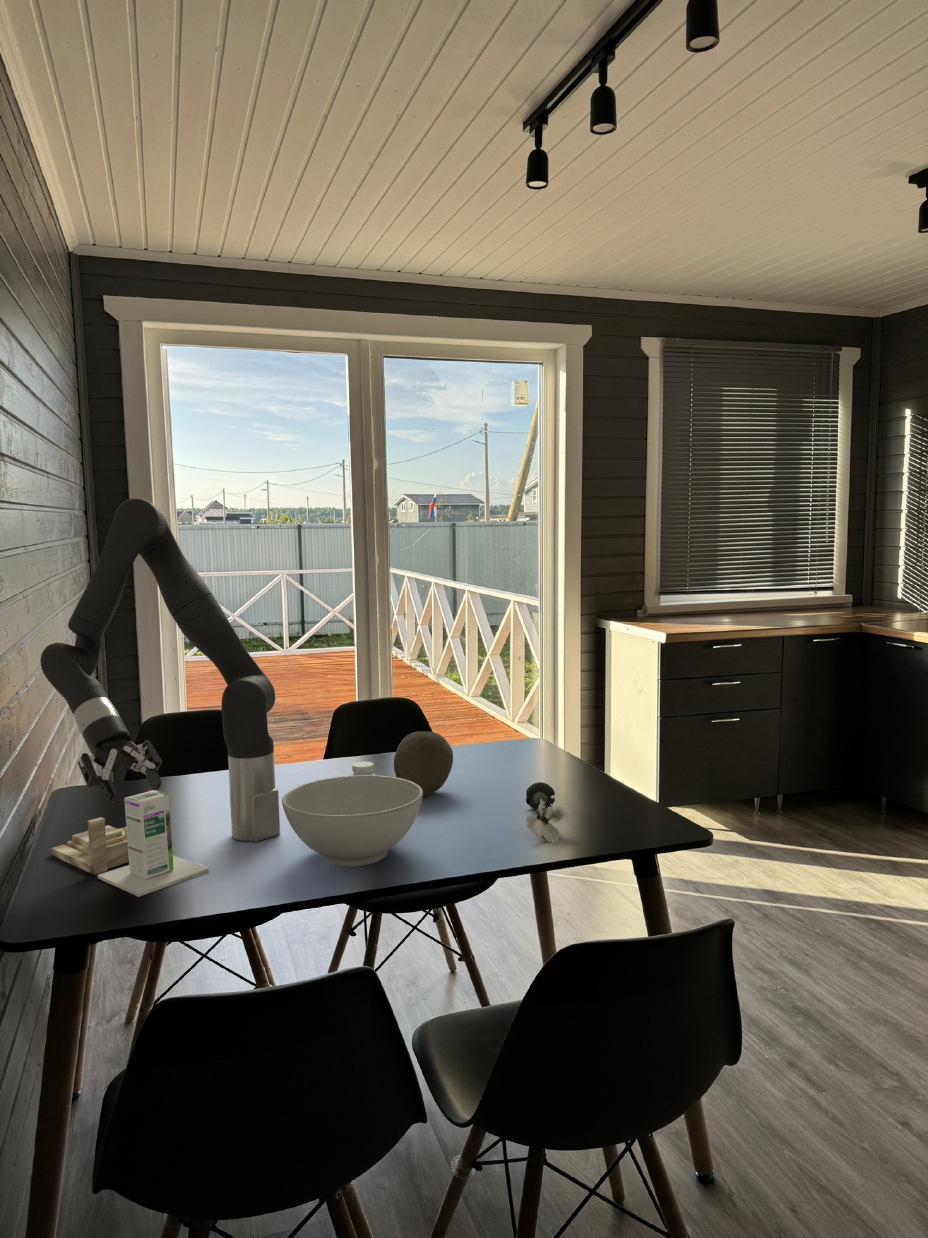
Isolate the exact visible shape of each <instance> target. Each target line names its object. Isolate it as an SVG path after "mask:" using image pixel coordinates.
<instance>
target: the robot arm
mask: <svg viewBox="0 0 928 1238" xmlns="http://www.w3.org/2000/svg"><path fill="white" fill-rule="evenodd" d="M176 540H177V539H176V538H175V536H174V534H173V532H172V530H171V528H170V525H169V523H168V521H167V519H166V517H165V515H164V513H163V512H162V511H161V510H160V508H158V507H157V506H156V505H155V504H153V503H152V502H151V501H149V500H147V499H143V498H138V497H137V498H136V497H135V498H129V499H126V500H125V501H123V502H122V503H120V504H119V506H118V507H117V509H116V510H115V513H114V515H113V518H112V522H111V524H110V528H109V530H108V535H107V537H106V541H105V544H104V546H103V549H102V551H101V554H100V557H99V559H98V562H97V564H96V566H95V569H94V571H93V573H92V574H91V577H90V579H89V581H88V583H87V585H86V586H85V589H84V591H83V593H82V594H81V597H80V599H79V600H78V602H77V604H76V606H75V608H74V610H73V611H72V614H71V615H70V618H69V620H68V623H67V627H68V629H69V631H71V632H72V633H73V634H75V635H76V638H75V643H74V645H72V644H68V643H64V642H52V643H51V644H48V645H47V646H46V647H44V649H43V650H42V653H41V654H40V662H39V663H40V668H41V670H42V673H43V675H44V677H45V678H46V679H47V681H48V682H49V683H50V684H51V686H52V687H53V688H54V689H55V690H56V691H57V692H58V693H59V695H61V696H62V697H63V699H64V700H65V701H66V703H67V705H68V707H69V709H70V711H71V713H72V715H73V717H74V721H75V723H76V726H77V729H78V730H79V733H80V734H81V736H82V738H83V740H84V743H85V744H86V745H87V748H88V750H89V752H90V754H88V753H87V752H83V753H82V754H81V755H80V758H79V760H78V762H77V764H78V768H79V769H80V772H81V775H82V777H83V778H84V779H83V780H84V783H85V784H86V786H87V787H89V788H92V787H93V786H95V787H98V788H100V790H101V793H102V794H103V795H104V797H105V799H106V801H109V802H110V803H111V804H112V803H116V802H117V800H118V798H119V794H118V792H117V790H116V788H115V785H114V783H113V782H112V780H111V779H109V778H110V774H111V773H114V774H116V773H119V772H121V771H129V770H132V771H135V772H136V773H137V772H140V773H141V774H143V775H146V776H145V778H146V780H147V782H148V784H149V786H150V788H151V790H155V791H160V789H161V785H162V784H163V783H162V782H163V781H162V779H161V777H160V775H159V773H158V770H159V769H160V767H161V765H162V764H163V760H162V758H161V757H160V755H159V754H158V752H157V750H156V749H155V747H154V746H153V744H152V742H151V741H150V740H148V739H146V740H144V742H143V743H140V744H135V743H134V742H133V741H132V738H131V734H130V732H129V731H128V729H127V727H126V725H125V723H124V721H123V719H122V718H121V716H120V714H119V712H118V710H117V709H116V707H115V706H114V704H113V703H112V701H111V700H110V698H109V697H108V694H107V692H106V691H105V689H104V687H103V686H102V684H101V682H100V681H99V680H97V679H96V678H95V677H92V675H93V674H94V672H95V671H96V668H97V666H98V663H99V658H100V653H101V649H102V646H103V639H104V635H105V632H106V631H107V628H108V627H109V625H110V623H111V622H112V619H113V617H114V615H115V613H116V611H117V609H118V606H119V604H120V601H121V600H122V599H121V598H122V595H123V592H124V589H125V584H126V581H127V579H128V576H129V573H130V571H131V568H132V566H133V564H134V562H135V560H136V559H137V557H138V556H139V555H140V556H141V559H143V561H144V562H145V564H146V565H147V566H148V568H149V569H150V571H151V573H152V575H153V576H154V579H155V581H156V583H157V587H158V589H159V591H160V594H161V597H162V599H163V601H164V603H165V606H166V608H167V610H168V612H169V614H170V615H171V617H172V618H173V620H174V621H175V623H176V625H177V626H178V628H179V630H180V631H181V633H182V634H183V635H184V636H185V638H186V639H187V641H189V642H190V643H191V644H192V645H193V646H194V647H195V648H196V649H197V650H198V651H199V652H200V653H202V655H204V656H205V657H206V658H207V659H209V660H210V661H211V662H212V664H213V665H214V666H215V667H216V668H217V670H218V671H219V673H220V675H221V676H222V678H223V679H224V681H225V684H226V687H225V688H224V690H223V693H222V696H221V719H222V729H223V730H222V731H223V739H224V742H225V746H227V747H226V748H227V757H228V758H227V759H228V782H229V785H228V786H229V799H230V800H229V802H230V819H231V820H230V821H231V837H232V838H233V839H235V840H237V841H242V842H243V841H245V842H247V841H248V842H250V841H251V842H260V841H264V840H265V839H268V838H271V837H274V836H275V837H276V836H277V835H280V834H281V825H280V824H281V822H280V821H281V820H280V804H279V803H280V801H279V799H280V798H279V796H280V795H279V790H278V789H277V788H276V774H275V773H276V772H275V770H276V769H275V749H274V747H275V746H274V745H275V744H274V739H273V738H272V737H271V736H270V734H269V729H268V727H269V725H268V713H269V712H270V711H271V710H272V708H273V707H274V705H275V702H276V691H275V687H274V686H273V684H272V682H271V680H270V679H269V678H268V676H267V675H266V674H265V673H264V671H263V670H262V669H261V667H260V666H259V665H258V663H256V661H255V660H254V659H253V658H252V656H251V654H250V653H249V652H248V651H247V649H246V648H245V646H244V645H243V643H242V641H241V639H240V638H239V636H238V634H237V632H236V630H235V629H234V627H233V625H232V624H231V622H230V620H229V619H228V617H227V616H226V614H225V612H224V611H223V609H222V607H221V605H220V603H219V602H218V601H217V599H216V597H215V596H214V594H213V593H212V591H211V590H210V587H208V585H207V584H206V583H205V581H204V580H203V578H202V577H201V575H199V573H198V571H197V570H196V569H195V568H194V567H193V565H192V564H191V563H190V562H189V561H188V559H187V558H186V555H184V553H183V551H182V549H181V548H180V545H179V544H178V542H177V541H176ZM136 761H137V763H135V762H136ZM94 763H95V764H96V765H98V766H100V767H101V771H100V774H99V775H98V774H97V772H96V769H95V767H94Z"/></svg>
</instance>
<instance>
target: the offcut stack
mask: <svg viewBox="0 0 928 1238" xmlns="http://www.w3.org/2000/svg"><path fill="white" fill-rule="evenodd" d="M105 833H106V846H109V845H112V844H115V843H119V842H122V841H125V840H124V836H122V830H119V828H116V827H113V826H110V825H109V824H108V825H107V824H106V825H105ZM86 838H89V835H88V830H86V831H83V832H79V833H76V834H73V835H71V840H69V841H67V844H66V845H67V846H69V847H71V848H73V849H76V850H78V851H80V852H83V839H86Z"/></svg>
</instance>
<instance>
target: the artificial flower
mask: <svg viewBox="0 0 928 1238" xmlns="http://www.w3.org/2000/svg"><path fill="white" fill-rule="evenodd" d="M525 792H526V793H525V795H526V796H525V797H526V798H525V802H526V804H527V805H529V807H530V808H531V809H532V810H534V809H535V810H536V809H537V815H536V817H535V816H533V815H527V817H526V820H525V824H526V827H527V829H528V830H529V832H531V833H533V835H534V836H535V837H537V838H540V837H544V838H545V840H546V841H547V842H549V843H553V842H552V841H556V839H557V838H558V837H561V834H560V832H559V829H557V828H556V827H555V826H554V825H553V824H552V823H550V820H551V821H553V822H554V823H558V822H560V821H561V820H562V819H563V818H564V817H565V816H566V815H567V814H568V811H567V810H565V808H563V807H561V806H559V807H555V808H554V806H553V805H554V803H555V802H556V798H555V795H556V792H555V790H554V788H553V787H552V786H551V785H549V784H547V783H545V782H540V781H539V782H535V783H533V784H531V785H530V786H529V787H527V789H526V791H525ZM553 808H554V809H553ZM543 809H544V810H543ZM535 810H534V811H535Z"/></svg>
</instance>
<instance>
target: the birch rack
mask: <svg viewBox="0 0 928 1238" xmlns="http://www.w3.org/2000/svg"><path fill="white" fill-rule="evenodd" d="M105 826H106V819H105V817H101V816H100V817H96V818H93V819H89V820H87V831H88V835H89V838H86V839H83V852H80V851H78V850H76V849H73V848H71V847H69V846H68V845H67V844H61V845H57V846H54V847H51V848H50V851H51V855H52V854H53V855H54V856H56V857H57V859H58V858H59V859H58V860H61V861H63V862H65V863H67V864H70V865H72V866H74V867H77V868H79V869H81V870H82V871H85V872H88V873H90V874H92V875H94V876H96V875H99V874H102V873H106V872H109V869H110V868H114V867H117V866H121V865H123V864H126V863H129V855H128V841H127V828H126V826H124V827H120V828H118V829H119V830H122V836H124V840H125V841H122V842H119V843H115V844H112V845H109V846H106V833H105ZM54 856H53V857H54ZM56 857H55V858H56Z"/></svg>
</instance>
